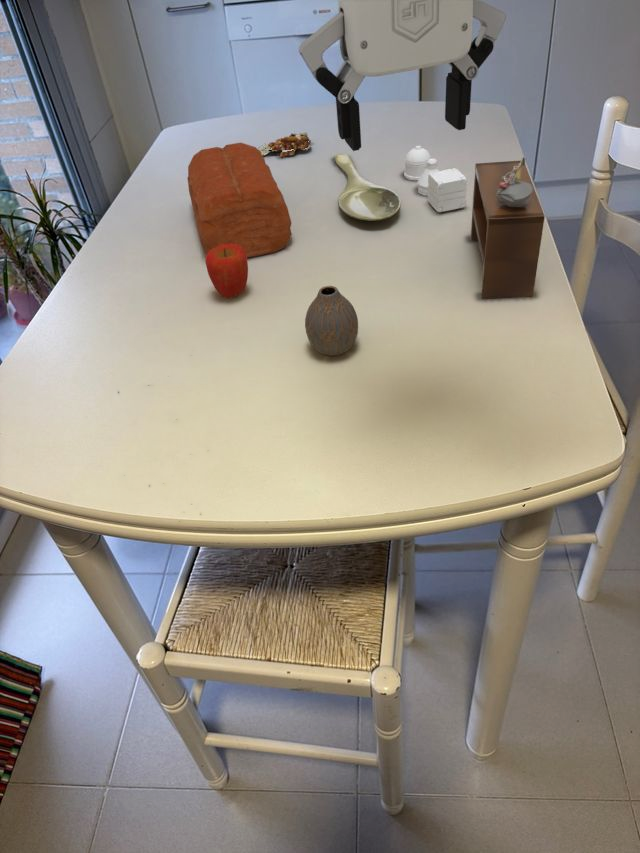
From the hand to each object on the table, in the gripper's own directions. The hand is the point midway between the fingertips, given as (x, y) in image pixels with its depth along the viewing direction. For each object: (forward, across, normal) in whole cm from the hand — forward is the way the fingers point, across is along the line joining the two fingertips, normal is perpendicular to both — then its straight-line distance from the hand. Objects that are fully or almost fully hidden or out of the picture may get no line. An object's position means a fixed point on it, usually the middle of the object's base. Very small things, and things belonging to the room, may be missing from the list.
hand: (404, 135), depth 58 cm
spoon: (+31, +11, +58) cm, 66 cm away
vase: (+31, -6, +12) cm, 33 cm away
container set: (+31, +23, +52) cm, 65 cm away
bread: (+31, -12, +54) cm, 63 cm away
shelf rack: (+30, +23, +23) cm, 44 cm away
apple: (+31, -17, +31) cm, 47 cm away
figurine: (+18, +21, +18) cm, 33 cm away
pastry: (+31, +2, +84) cm, 89 cm away
